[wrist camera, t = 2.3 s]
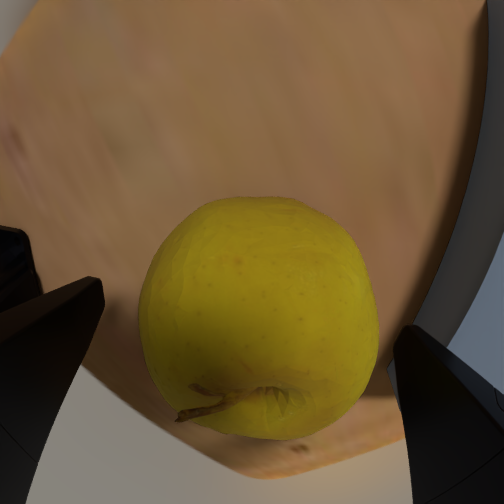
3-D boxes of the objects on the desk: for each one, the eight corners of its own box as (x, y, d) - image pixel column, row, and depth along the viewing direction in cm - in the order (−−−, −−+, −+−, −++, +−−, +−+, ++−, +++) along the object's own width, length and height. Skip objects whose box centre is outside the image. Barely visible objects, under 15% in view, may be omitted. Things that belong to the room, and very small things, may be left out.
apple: (170, 177, 10) (18, 304, 3) (346, 166, 10) (484, 292, 3) (197, 317, 13) (147, 479, 6) (338, 312, 13) (376, 482, 6)
